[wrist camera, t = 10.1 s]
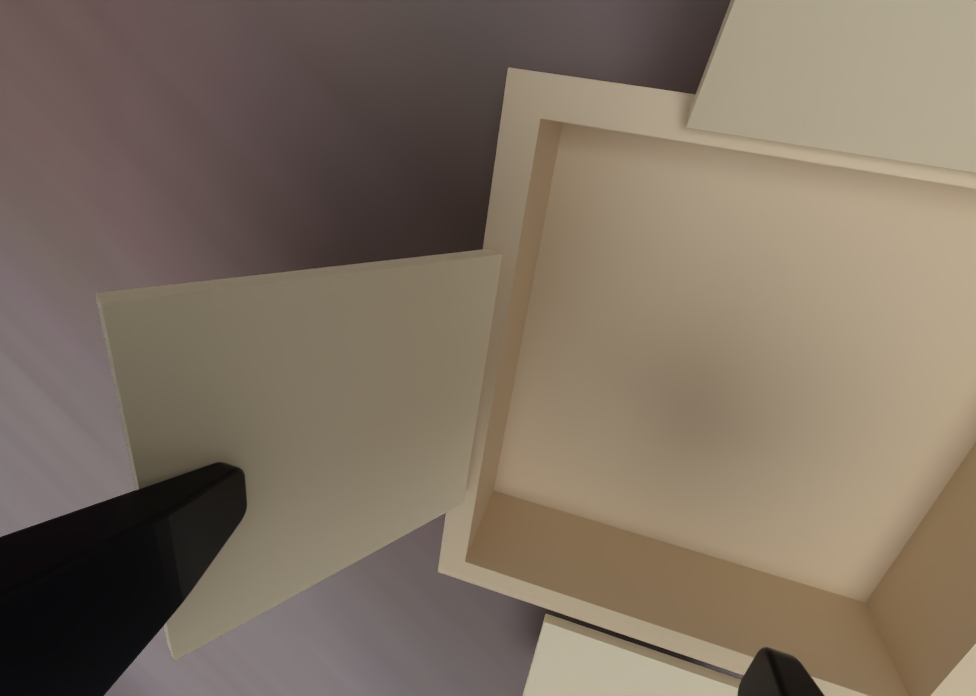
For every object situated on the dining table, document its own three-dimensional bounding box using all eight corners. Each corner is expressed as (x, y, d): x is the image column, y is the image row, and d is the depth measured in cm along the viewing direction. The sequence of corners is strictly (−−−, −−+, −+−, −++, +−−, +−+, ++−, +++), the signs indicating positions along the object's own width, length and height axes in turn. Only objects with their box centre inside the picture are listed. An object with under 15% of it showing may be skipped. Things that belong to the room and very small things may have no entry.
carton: (995, 806, 19) (1084, 978, 15) (453, 615, 23) (415, 714, 19) (1637, 244, 10) (2287, 322, 6) (542, 81, 13) (504, 65, 10)
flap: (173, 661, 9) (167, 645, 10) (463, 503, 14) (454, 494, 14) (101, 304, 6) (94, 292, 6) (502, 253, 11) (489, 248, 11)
